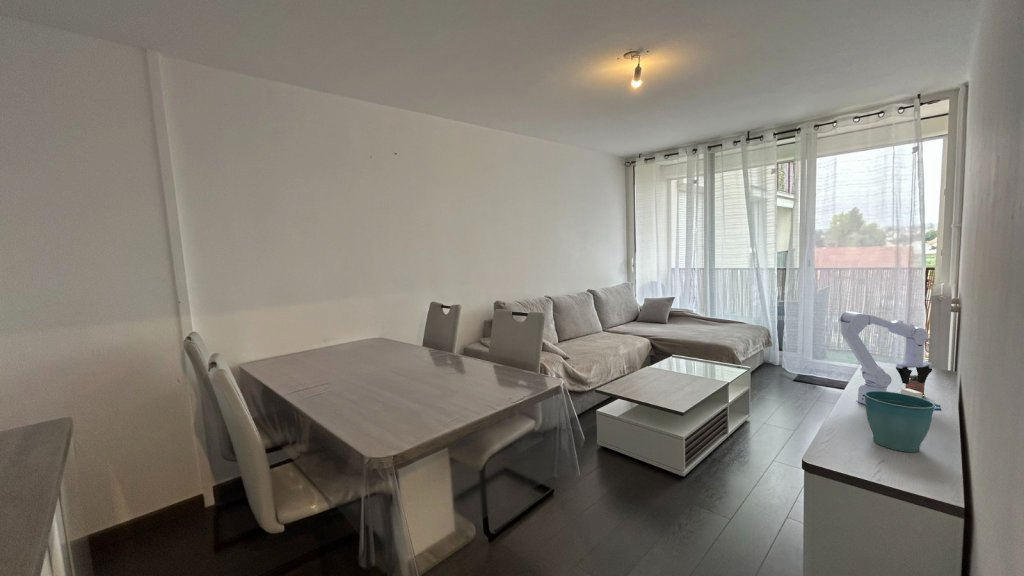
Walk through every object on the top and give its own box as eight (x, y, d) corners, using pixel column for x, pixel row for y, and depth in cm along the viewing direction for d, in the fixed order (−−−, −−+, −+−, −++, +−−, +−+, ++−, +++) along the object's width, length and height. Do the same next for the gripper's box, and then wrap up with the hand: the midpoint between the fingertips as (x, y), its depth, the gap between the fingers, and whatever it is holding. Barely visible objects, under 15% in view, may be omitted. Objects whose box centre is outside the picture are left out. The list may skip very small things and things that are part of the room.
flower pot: (861, 429, 157) (863, 387, 156) (927, 443, 145) (930, 397, 144) (862, 446, 143) (865, 400, 142) (935, 462, 131) (939, 412, 130)
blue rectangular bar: (930, 410, 177) (930, 408, 177) (927, 409, 178) (927, 407, 178) (940, 409, 177) (941, 408, 177) (938, 408, 178) (938, 407, 178)
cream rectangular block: (913, 408, 179) (914, 392, 178) (900, 403, 185) (901, 388, 184) (921, 408, 179) (922, 392, 179) (907, 403, 185) (908, 388, 185)
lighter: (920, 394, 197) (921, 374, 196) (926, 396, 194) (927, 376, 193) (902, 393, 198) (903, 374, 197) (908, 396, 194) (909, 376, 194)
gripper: (908, 356, 176) (907, 386, 177) (939, 354, 177) (938, 385, 178) (892, 352, 183) (891, 381, 184) (922, 351, 184) (921, 380, 185)
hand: (913, 383), depth 181 cm, fingers open, 7 cm apart
